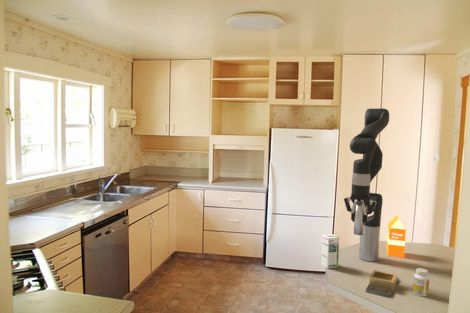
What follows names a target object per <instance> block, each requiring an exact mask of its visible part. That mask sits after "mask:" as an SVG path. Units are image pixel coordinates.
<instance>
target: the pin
mask: <svg viewBox="0 0 470 313" xmlns="http://www.w3.org/2000/svg"><path fill="white" fill-rule="evenodd" d="M355 203H356V207H355V216H354V222H353V234H354V235H357V236H360V235H363V228H364V223H363V215H364V212H363V209H362V204H363V201H355ZM364 204H365V201H364Z"/></svg>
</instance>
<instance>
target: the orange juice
mask: <svg viewBox="0 0 470 313" xmlns="http://www.w3.org/2000/svg"><path fill="white" fill-rule="evenodd" d="M403 224H404V223H402V221H401V220H400V218H399V217H398V215H397V214H396V215H395V216H394V217H393V218H392V219H391V220H390V221H389V223H387V234H386V253H387V254H386V255H387V256H388V257H396V258H397V257H398V258H405V248H406V233H407V232H406V231H407V229H406V228H405V227H404V225H403Z"/></svg>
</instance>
